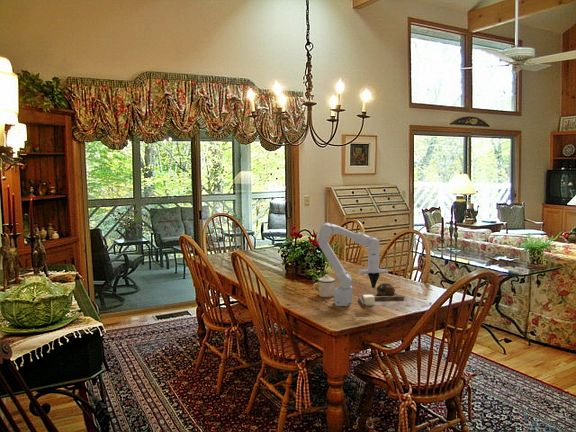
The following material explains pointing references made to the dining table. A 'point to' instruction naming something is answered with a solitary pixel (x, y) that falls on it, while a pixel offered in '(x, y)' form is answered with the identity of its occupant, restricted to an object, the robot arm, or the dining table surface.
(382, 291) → the decorative turtle
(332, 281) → the teacup with lid
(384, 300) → the trap box
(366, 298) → the cream block
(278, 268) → the dining table surface
